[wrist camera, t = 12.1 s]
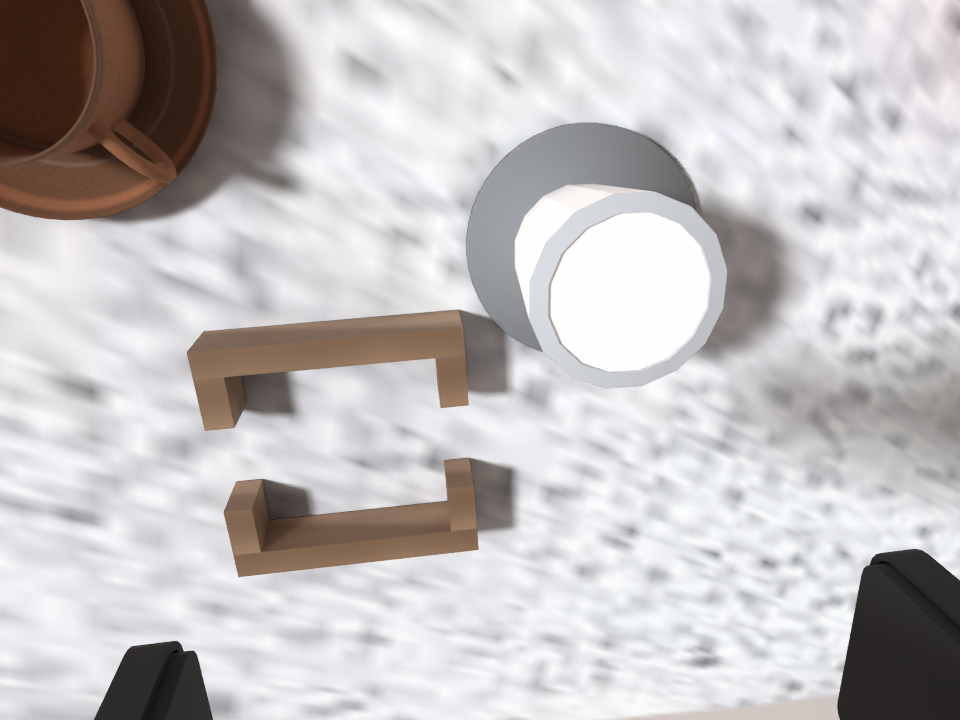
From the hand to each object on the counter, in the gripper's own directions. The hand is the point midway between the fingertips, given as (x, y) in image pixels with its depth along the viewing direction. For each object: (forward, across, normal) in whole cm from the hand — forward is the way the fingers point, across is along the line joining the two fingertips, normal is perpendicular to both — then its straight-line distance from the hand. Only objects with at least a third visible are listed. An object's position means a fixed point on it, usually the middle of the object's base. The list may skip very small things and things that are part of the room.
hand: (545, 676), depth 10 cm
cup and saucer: (+22, +13, -10) cm, 28 cm away
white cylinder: (+21, -6, -1) cm, 22 cm away
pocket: (+22, +4, +7) cm, 24 cm away
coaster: (+22, -6, -1) cm, 23 cm away
